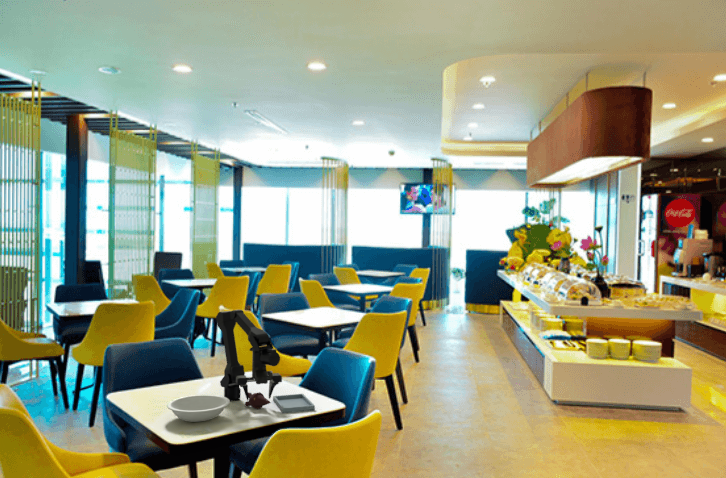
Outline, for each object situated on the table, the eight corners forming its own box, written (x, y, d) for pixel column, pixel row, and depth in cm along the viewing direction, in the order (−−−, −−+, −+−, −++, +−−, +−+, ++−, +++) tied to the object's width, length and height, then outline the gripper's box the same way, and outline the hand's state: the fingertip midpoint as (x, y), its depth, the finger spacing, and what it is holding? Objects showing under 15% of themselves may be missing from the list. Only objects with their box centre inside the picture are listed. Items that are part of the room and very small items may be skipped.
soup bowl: (214, 406, 243) (214, 391, 243) (240, 421, 224) (240, 404, 224) (157, 417, 228) (158, 400, 228) (180, 433, 209) (180, 415, 209)
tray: (282, 413, 235) (282, 408, 235) (273, 400, 253) (273, 396, 253) (314, 410, 240) (314, 405, 240) (302, 398, 258) (302, 393, 258)
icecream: (277, 394, 241) (253, 391, 250) (264, 393, 235) (240, 390, 244) (275, 411, 239) (250, 407, 248) (262, 410, 233) (238, 407, 242)
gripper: (239, 368, 231) (239, 406, 231) (285, 365, 237) (284, 402, 237) (235, 362, 241) (235, 399, 241) (279, 359, 248) (278, 395, 248)
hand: (258, 399), depth 241 cm, fingers open, 9 cm apart
